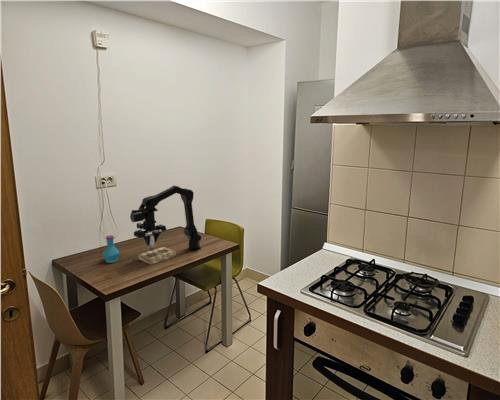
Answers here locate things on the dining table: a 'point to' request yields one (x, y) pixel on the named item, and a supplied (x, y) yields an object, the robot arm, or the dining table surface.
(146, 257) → the frame
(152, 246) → the grey cylinder
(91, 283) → the dining table surface
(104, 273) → the dining table surface
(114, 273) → the dining table surface
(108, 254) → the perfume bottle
